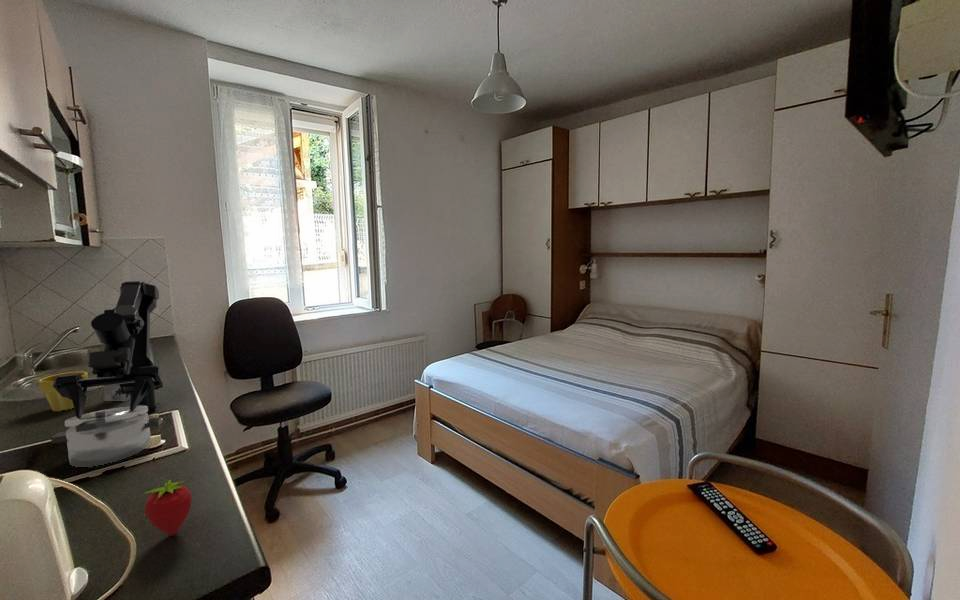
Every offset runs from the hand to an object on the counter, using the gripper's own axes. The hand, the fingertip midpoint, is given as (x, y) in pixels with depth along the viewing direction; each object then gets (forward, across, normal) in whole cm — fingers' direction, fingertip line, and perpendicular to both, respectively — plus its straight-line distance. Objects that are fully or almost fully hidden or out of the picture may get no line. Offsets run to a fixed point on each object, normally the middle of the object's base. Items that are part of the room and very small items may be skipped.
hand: (105, 413), depth 92 cm
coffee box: (-28, -10, +42) cm, 51 cm away
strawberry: (+36, +19, -22) cm, 46 cm away
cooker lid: (+2, 0, 0) cm, 2 cm away
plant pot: (-26, -23, +40) cm, 53 cm away
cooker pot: (+6, 0, +8) cm, 10 cm away
